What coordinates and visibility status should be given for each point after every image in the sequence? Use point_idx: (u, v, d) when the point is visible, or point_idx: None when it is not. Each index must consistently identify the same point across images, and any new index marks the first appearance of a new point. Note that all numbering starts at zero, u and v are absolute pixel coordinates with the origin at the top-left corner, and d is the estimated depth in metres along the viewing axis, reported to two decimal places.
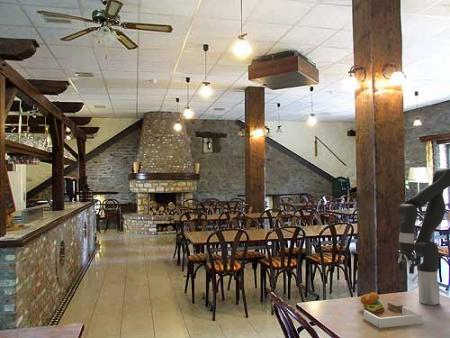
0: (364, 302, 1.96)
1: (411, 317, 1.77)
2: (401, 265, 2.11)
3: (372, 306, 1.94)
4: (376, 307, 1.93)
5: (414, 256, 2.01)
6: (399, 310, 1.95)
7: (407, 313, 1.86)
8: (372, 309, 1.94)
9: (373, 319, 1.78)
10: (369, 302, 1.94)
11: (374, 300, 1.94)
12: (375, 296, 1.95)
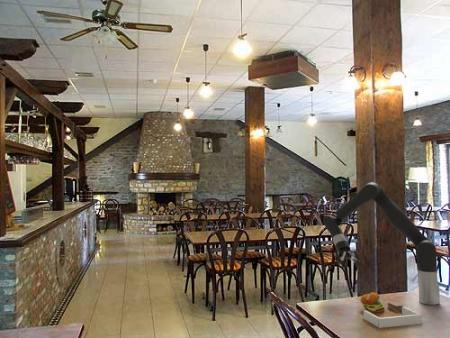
0: (364, 302, 1.96)
1: (411, 317, 1.77)
2: (356, 263, 2.20)
3: (372, 306, 1.94)
4: (376, 307, 1.93)
5: (334, 254, 2.22)
6: (399, 310, 1.95)
7: (407, 313, 1.86)
8: (372, 309, 1.94)
9: (373, 319, 1.78)
10: (369, 302, 1.94)
11: (374, 300, 1.94)
12: (375, 296, 1.95)
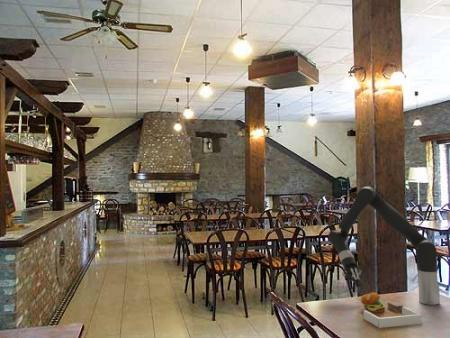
0: (364, 302, 1.96)
1: (411, 317, 1.77)
2: None
3: (372, 306, 1.94)
4: (376, 307, 1.93)
5: (344, 275, 2.15)
6: (399, 310, 1.95)
7: (407, 313, 1.86)
8: (372, 309, 1.94)
9: (373, 319, 1.78)
10: (369, 302, 1.94)
11: (374, 300, 1.94)
12: (375, 296, 1.95)
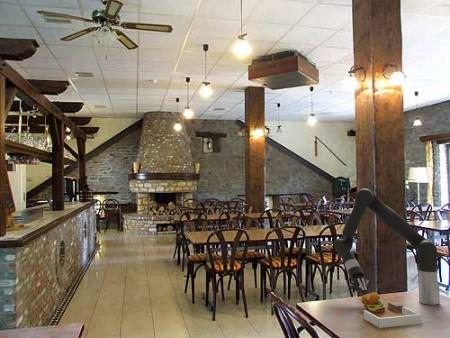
0: (365, 302, 1.96)
1: (411, 317, 1.77)
2: None
3: (373, 306, 1.94)
4: (377, 307, 1.93)
5: (350, 285, 2.08)
6: (399, 310, 1.95)
7: (407, 313, 1.86)
8: (373, 309, 1.94)
9: (373, 319, 1.78)
10: (370, 302, 1.94)
11: (375, 300, 1.94)
12: (376, 296, 1.95)
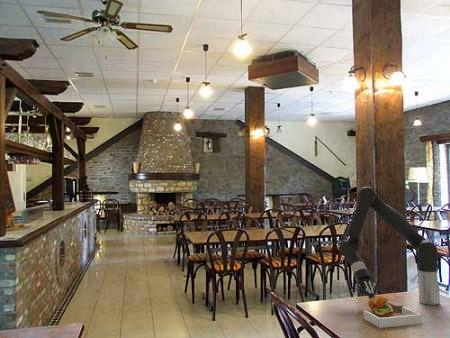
0: (371, 306, 1.90)
1: (411, 317, 1.77)
2: None
3: (380, 310, 1.88)
4: (384, 311, 1.87)
5: (357, 288, 2.02)
6: (399, 310, 1.95)
7: (407, 313, 1.86)
8: (380, 313, 1.87)
9: (373, 319, 1.78)
10: (377, 306, 1.88)
11: (382, 304, 1.88)
12: (383, 300, 1.89)
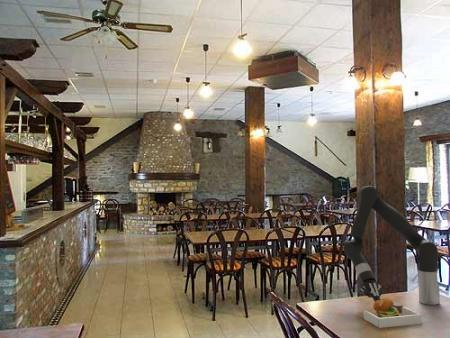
0: (377, 308, 1.85)
1: (411, 317, 1.77)
2: None
3: (385, 313, 1.83)
4: (389, 314, 1.82)
5: (362, 290, 1.97)
6: (399, 310, 1.95)
7: (407, 313, 1.86)
8: (385, 316, 1.83)
9: (373, 319, 1.78)
10: (382, 309, 1.84)
11: (387, 307, 1.83)
12: (389, 302, 1.84)
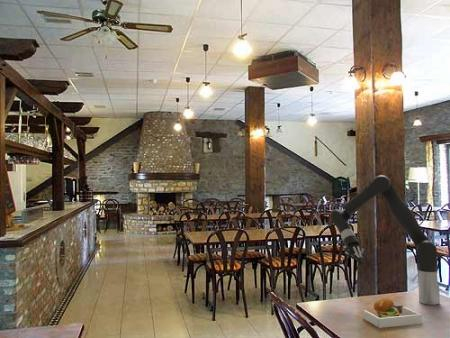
0: (377, 309, 1.85)
1: (411, 317, 1.77)
2: None
3: (385, 313, 1.83)
4: (390, 314, 1.82)
5: (346, 253, 2.12)
6: (399, 310, 1.95)
7: (407, 313, 1.86)
8: (385, 316, 1.83)
9: (373, 319, 1.78)
10: (382, 309, 1.84)
11: (388, 307, 1.83)
12: (389, 302, 1.84)
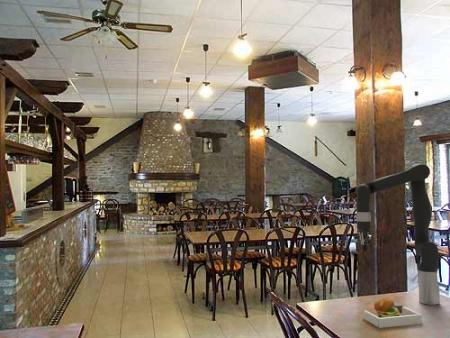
0: (377, 309, 1.85)
1: (411, 317, 1.77)
2: None
3: (386, 313, 1.83)
4: (390, 314, 1.82)
5: (369, 238, 2.11)
6: (399, 310, 1.95)
7: (407, 313, 1.86)
8: (386, 316, 1.83)
9: (373, 319, 1.78)
10: (383, 309, 1.84)
11: (388, 307, 1.83)
12: (389, 303, 1.84)
